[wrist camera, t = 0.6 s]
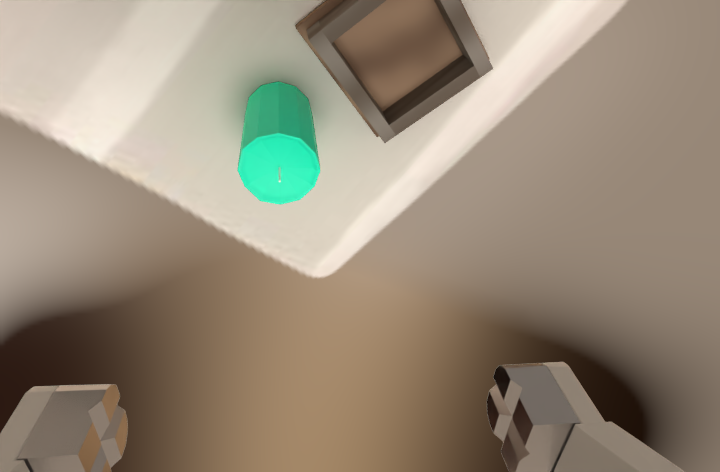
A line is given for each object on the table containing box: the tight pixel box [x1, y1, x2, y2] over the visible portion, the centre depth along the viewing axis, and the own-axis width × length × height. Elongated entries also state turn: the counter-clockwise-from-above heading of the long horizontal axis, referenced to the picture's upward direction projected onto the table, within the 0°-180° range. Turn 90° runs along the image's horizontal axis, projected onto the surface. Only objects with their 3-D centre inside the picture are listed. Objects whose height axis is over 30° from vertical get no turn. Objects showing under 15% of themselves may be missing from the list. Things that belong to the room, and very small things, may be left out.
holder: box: [296, 0, 493, 143], centre depth 39 cm, size 12×12×4 cm
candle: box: [238, 81, 320, 204], centre depth 38 cm, size 6×6×12 cm
